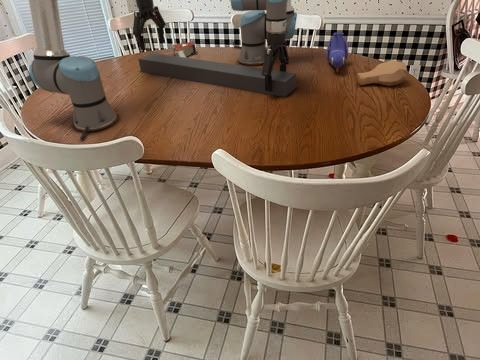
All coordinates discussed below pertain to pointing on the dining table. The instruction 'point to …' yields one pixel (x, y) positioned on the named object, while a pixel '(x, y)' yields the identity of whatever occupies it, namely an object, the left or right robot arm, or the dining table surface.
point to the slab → (218, 73)
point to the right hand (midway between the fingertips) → (275, 85)
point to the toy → (337, 50)
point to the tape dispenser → (183, 49)
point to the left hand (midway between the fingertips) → (153, 46)
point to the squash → (384, 74)
